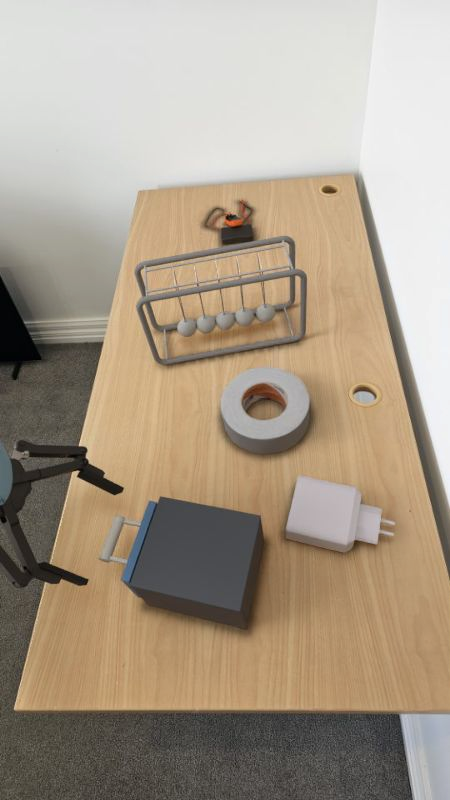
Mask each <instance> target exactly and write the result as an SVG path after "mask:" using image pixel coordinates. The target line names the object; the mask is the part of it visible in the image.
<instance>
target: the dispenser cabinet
mask: <svg viewBox="0 0 450 800" xmlns="http://www.w3.org/2000/svg"><path fill="white" fill-rule="evenodd" d="M265 541H266V540H265V534H264V529H263V522H262V516H261V514H255V513H250V512H245V511H240V510H234V509H230V508H224V507H219V506H213V505H209V504H203V503H198V502H192V501H188V500H182V499H176V498H171V497H166V496H159V497H158V501H157V506H156V509H155V512H154V515H153V518H152V521H151V524H150V527H149V530H148V533H147V536H146V539H145V541H144V544H143V547H142V550H141V553H140V556H139V559H138V562H137V565H136V568H135V571H134V574H133V576H132V579H131V582H130V587H131V588H132V589H133V590H134V591H135V592H136V593H137V594H138V595H139V596H140V597H141V598H140V599H141V600H143V602H145V603H146V604H147V606H149V607H153V608H157V609H160V610H164V611H167V612H173V613H177V614H181V615H184V616H188V617H193V618H196V619H197V618H198V619H201V620H205V621H208V622H213V623H217V624H221V625H224V626H225V625H226V626H230V627H233V628H238V629H242V630H245V631H247V630H248V627H249V621H250V618H251V617H250V616H251V611H252V607H253V602H254V597H255V593H256V587H257V582H258V578H259V573H260V568H261V563H262V560H263V559H262V558H263V554H264V553H263V552H264V549H265V543H266V542H265Z"/></svg>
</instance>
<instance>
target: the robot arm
mask: <svg viewBox="0 0 450 800" xmlns="http://www.w3.org/2000/svg"><path fill="white" fill-rule="evenodd" d="M11 451H12V453H11V455H10V456H9V454H8V450H7V448H6V447H5V446H4V445H3V443H2V442H1V441H0V525H1V527H2V529H3V530H4V531H5V534H6V535H7V537H8V540H9V542H10V544H11V547H12V549H13V551H14V554H15V556H16V558H17V560H18V562H19V565H20V566H21V568H20V567H19V566H18V565H17V564H16V562H15V561H14V559H12V558H11V556H10V555H9V554H8V553H7V552H6V550H5V549H4V547H2V545H1V544H0V571H1V573H2V574H3V575H4V576H5V577H6V579H7V580H8V581H9V582H10V584H11V585H12V586H13V588H15V589H21V588H26V587H28V585H29V583H30V582H31V581H32V580H33V579H36V580H39V581H42V582H44V583H46V584H49V585H59V584H60V583H61V581H62V580H63V581H65V582H67V583H70V584H73V585H76V586H78V587H81V586H87V585H88V584H89V581H90V579H89V578H87V577H84V576H81V575H79V574H76V573H74V572H71V571H69V570H67V569H64V568H61V567H59V566H57V565H54V564H52V563H49V562H47V561H41V562H38V561H37V559H36V557H35V555H34V552H33V551H32V548H31V545H30V544H29V541H28V539H27V537H26V534H25V532H24V530H23V528H22V526H21V523H20V518H19V515H18V513H19V512H20V511H22V510H23V508H24V506H25V504H26V500H27V497H28V496H29V495H30V494H31V492H32V490H33V487H32V483H34V482H35V483H36V482H38V481H43V480H46V479H50V478H53V477H54V478H55V477H57V476H62V475H66V474H70V473H74V472H77V474H76V478H78V479H79V480H82V481H84V482H86V483H87V484H90V485H92V486H94V487H96V488H98V489H100V490H102V491H104V492H106V493H108V494H111V495H113V496H117V495H120V494H122V493H123V492H124V489H125V487H124V486H122V485H120V484H118V483H116V482H114V481H112V480H111V479H108V478H106V477H105V475H106V472H105V471H104V470H103V469H101V468H99V467H97V466H96V465H94V464H91V463H90V460H89V459H88V458H87V454H88V447H87V446H85V445H55V444H49V445H48V444H34V443H32V442H29V441H26V440H24V439H20V440H18V441H17V442H16V443H15V444H13V446H12V447H11ZM29 458H41V459H43V458H44V459H45V458H46V459H73V460H71V461H67V462H64V463H59V464H55V465H50V466H46V467H42V468H36V469H32V470H27V471H26V470H25V468H24V466H23V465H22V463H21V461H20V460H27V459H29ZM21 569H22V570H21Z"/></svg>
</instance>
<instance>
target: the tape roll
mask: <svg viewBox="0 0 450 800" xmlns="http://www.w3.org/2000/svg"><path fill="white" fill-rule="evenodd" d="M262 400H271V401H275V402H278V403H279V404H281V405H282V406H283V408H284V410H283V411H282V412H281V413H280V414H278V415H277V416H275V417H273V418H269V419H258V418H255V417H252V416H250V414H248V413H247V410H248V409H249V408H250V407H251V406H252V405H253V404H254V403H255V404H256V403H257V402H259V401H262ZM219 405H220V406H219V408H220V413H221V417H222V422H223V423H222V424H223V427H224V430H225V433H226V434H227V436H228V438H229V439H230V440H231V442H233V444H235V445H236V446H237V447H239V448H240V449H242V450H244V451H247V452H249V453H253V454H257V455H271V454H277V453H281V452H284V451H287V450H288V449H290V448H293V446H295V445H296V444H298V443H299V442H300V441H301V439H302V438H303V437H304V435H306V432H307V431H308V428H309V426H310V418H311V400H310V393H309V390H308V388H307V386H306V385H305V383H304V382H303V380H302V379H301V378H299V377H297V375H295V374H294V373H292V372H291V371H287V370H285V369H283V368H281V367H276V366H275V367H274V366H258V367H253V368H250V369H246V370H244V371H242V372H241V373H239V374H237V375H236V376H235V377H234V378H233V379H232V380H231V381H230V382H229V383H228V384H227V385H225V388H224V389H223V391H222V394H221V396H220V404H219Z"/></svg>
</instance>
